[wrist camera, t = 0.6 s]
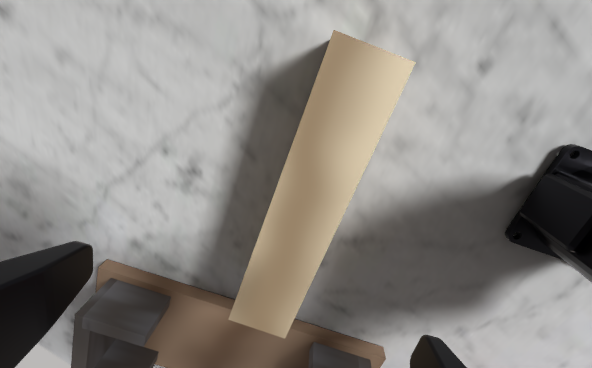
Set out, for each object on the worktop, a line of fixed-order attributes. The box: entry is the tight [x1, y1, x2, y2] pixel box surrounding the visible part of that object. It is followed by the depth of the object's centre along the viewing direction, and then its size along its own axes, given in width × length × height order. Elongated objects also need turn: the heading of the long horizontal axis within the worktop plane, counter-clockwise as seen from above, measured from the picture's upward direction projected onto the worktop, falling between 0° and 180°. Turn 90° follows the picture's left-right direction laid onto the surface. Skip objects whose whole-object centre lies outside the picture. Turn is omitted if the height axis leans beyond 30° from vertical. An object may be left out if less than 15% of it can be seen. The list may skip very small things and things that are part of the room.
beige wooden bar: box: [228, 30, 416, 339], centre depth 17 cm, size 4×16×5 cm, turn 160°
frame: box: [71, 259, 386, 368], centre depth 23 cm, size 22×8×4 cm, turn 71°
